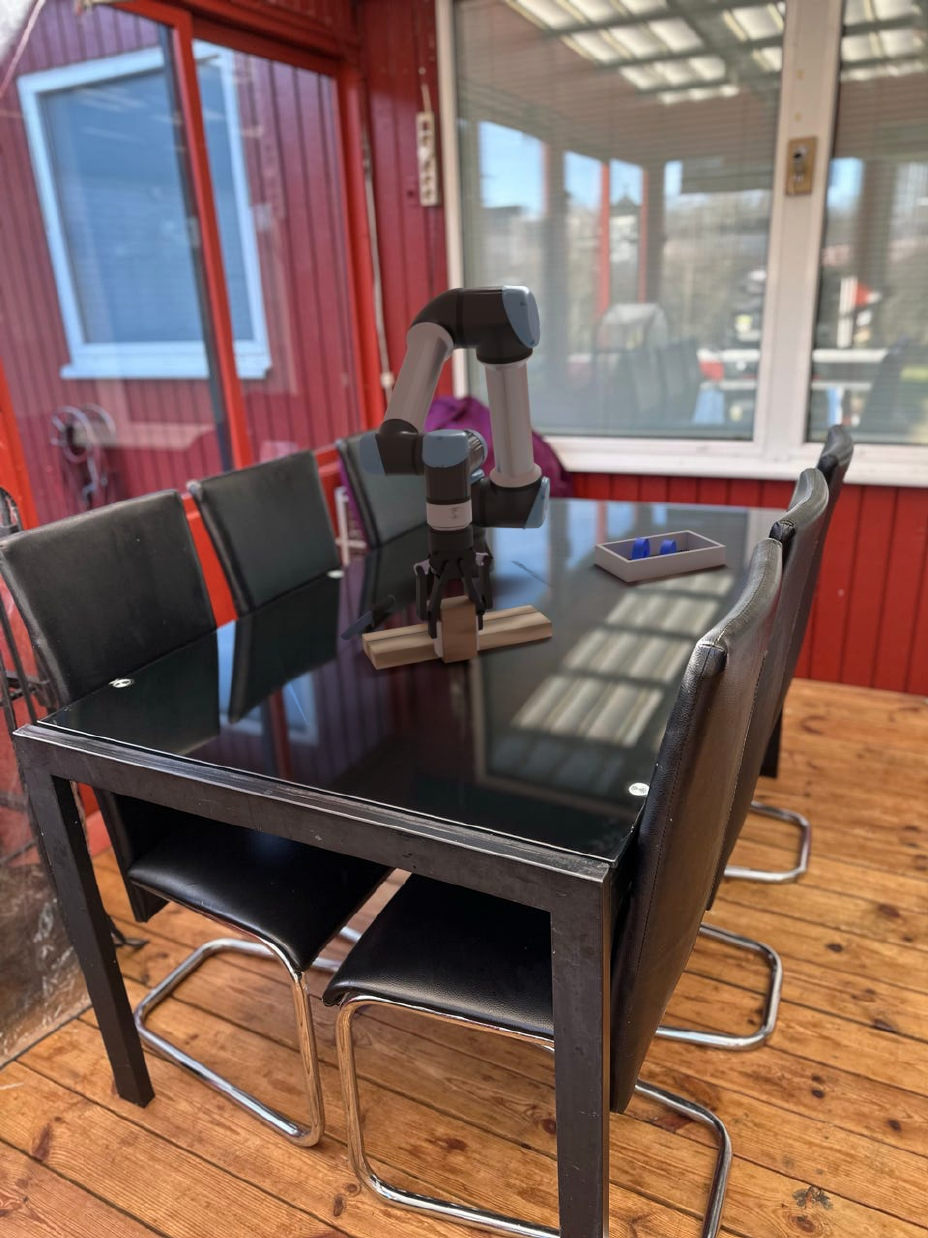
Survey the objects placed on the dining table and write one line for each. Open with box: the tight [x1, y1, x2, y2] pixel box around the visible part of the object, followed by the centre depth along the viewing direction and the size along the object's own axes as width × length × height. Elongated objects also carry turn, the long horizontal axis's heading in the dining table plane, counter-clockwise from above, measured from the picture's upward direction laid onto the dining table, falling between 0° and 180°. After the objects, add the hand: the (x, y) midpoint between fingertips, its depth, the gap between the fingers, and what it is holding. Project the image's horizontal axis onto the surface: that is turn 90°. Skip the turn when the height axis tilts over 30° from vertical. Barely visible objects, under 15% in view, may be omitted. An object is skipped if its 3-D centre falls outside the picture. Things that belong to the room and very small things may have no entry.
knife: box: [339, 594, 396, 641], centre depth 172 cm, size 24×2×5 cm, turn 162°
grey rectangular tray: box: [594, 529, 727, 583], centre depth 202 cm, size 15×25×4 cm, turn 110°
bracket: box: [631, 537, 678, 560], centre depth 205 cm, size 18×8×9 cm, turn 153°
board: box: [361, 604, 553, 670], centre depth 165 cm, size 10×34×3 cm, turn 110°
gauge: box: [427, 594, 478, 664], centre depth 161 cm, size 18×6×10 cm, turn 19°
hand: (457, 650), depth 157 cm, fingers closed on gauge, 6 cm apart
